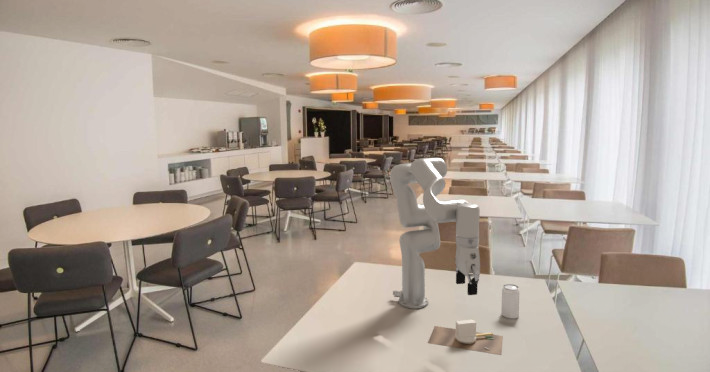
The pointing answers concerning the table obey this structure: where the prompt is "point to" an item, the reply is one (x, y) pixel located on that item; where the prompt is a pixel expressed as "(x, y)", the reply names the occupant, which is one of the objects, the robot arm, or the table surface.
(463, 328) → the knob
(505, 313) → the can
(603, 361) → the table surface
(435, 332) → the dial board
